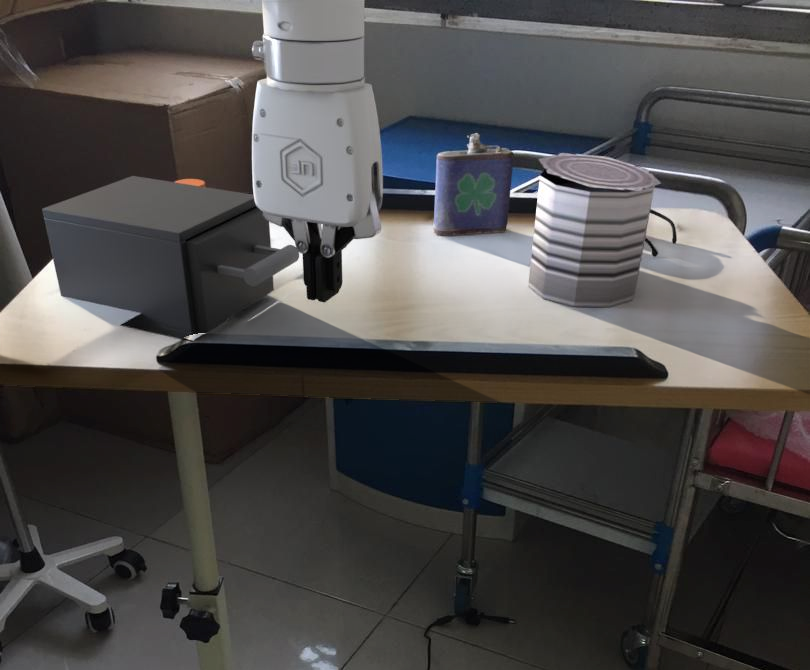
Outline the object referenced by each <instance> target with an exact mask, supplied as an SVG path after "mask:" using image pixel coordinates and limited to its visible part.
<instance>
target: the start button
mask: <svg viewBox="0 0 810 670" xmlns="http://www.w3.org/2000/svg"><path fill="white" fill-rule="evenodd" d="M174 182H175V183H182V184H188V185H195V186H201V187H206V182H205V180H202V179H197V178H183V179H178V180H175V181H174Z"/></svg>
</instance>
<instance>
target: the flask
mask: <svg viewBox="0 0 810 670" xmlns="http://www.w3.org/2000/svg"><path fill="white" fill-rule="evenodd" d="M466 137H467V138H468V139H469V143H467V144H466V146H467V149H466V150H452V151H449V150H448V151H441V152H438V153H437V154H436V160H435V161H436V164H435V165H436V167H435V186H434V187H435V189H434V209H433V210H434V211H433V212H434V213H433V226H432V229H433V233H434V234H436V236H441V235H443V236H446V237H447V236H449V237H450V236H455V235H457V236H460V235H461V236H462V235H465V236H466V235H468V236H470V235H475V234H477V233H478V234H479V233H480V234H485V233H491V234H492V233H504V232H506V231H507V227H508V222H509V221H508V220H509V210H510V201H511V187H512V179H513V178H512V177H513V170H514V169H513V168H514V160H515V159H514V158H515V154H514V152H513V151H512V150H510V149H509V148H507V147H501V146H499V145H485V144H483V143H482V142H481V140H480V137H481V134H479V133H478V132H475V133H472V134H470V135H469V134H468V135H467V136H466Z"/></svg>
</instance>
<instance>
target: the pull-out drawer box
mask: <svg viewBox="0 0 810 670" xmlns="http://www.w3.org/2000/svg"><path fill="white" fill-rule="evenodd" d="M262 212H263V211H261V210H260V209H259V208H258V207H257V208H255V209H253V210H251V211H249V212H247V213H245V214H242V213H241V214H239V215H237V216H235V217H232V218H230V219H228V220H226V221H224V222H222V223H220V224H218V225H216V226H214V227H212V228H210V229H207V230H205V231H203V232H201V233H199V234H197V235H195V236H193V237H191V238H189V239H187V240H185V241H186V242H185V244H186V252H187V260H188V268H189V276H190V284H191V292H192V300H193V308H194V316H195V323H196V330H200V331H205V332H208V331H209V332H211V331H212V330H214V329H215V327H216V326H217V327H219V326H220V325H222V324H224V323H225V322H226V320H227V319H228V320H230V319H231V318H233V317H235V316H236V315H238V314H239V313H241V312H242V311H244V310H246V309H247V308H249V307H251V306H252V305H254V304H255V303H257V302H259V301H260V300H262V299H263V298H265V297H266V296H268V294H270V293H272V292H273V291H275V287H274V286H275V285H274V276H275V275H277V274H278V273H280V272H281V271H283V270H285V269H286V268H288V267H290V266H291V265H293V264H295V263H296V262H298V261H299V258H300V252H298V250H297V249H296V245H292V244H288V245H285V246H283V247H282V248H276V247H272V243H271V230H270V229H271V228H270V222H269V221H267V220H265V219H264V217H263V214H262ZM265 295H266V296H265ZM264 296H265V297H264ZM262 297H263V298H262ZM259 299H260V300H259ZM256 301H257V302H256ZM254 302H255V303H254ZM251 304H252V305H251ZM248 306H249V307H248ZM246 307H247V308H246ZM245 308H246V309H245ZM243 309H244V310H243ZM240 311H241V312H240ZM238 312H239V313H238ZM237 313H238V314H237ZM235 314H236V315H235ZM232 316H233V317H232ZM230 317H231V318H230ZM229 318H230V319H229ZM228 320H227V321H228ZM224 321H225V322H224ZM223 322H224V323H223ZM221 323H222V324H221ZM219 324H220V325H219ZM218 325H219V326H218ZM217 327H216V328H217ZM213 328H214V329H213ZM211 329H212V330H211ZM210 330H211V331H210ZM209 332H208V333H209Z"/></svg>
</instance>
